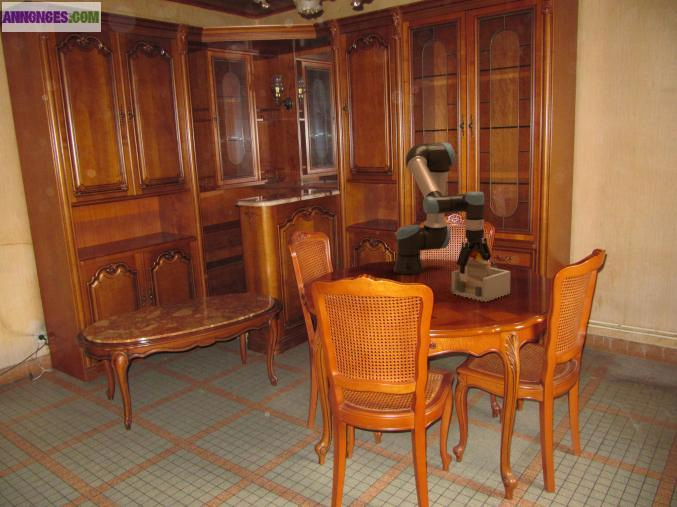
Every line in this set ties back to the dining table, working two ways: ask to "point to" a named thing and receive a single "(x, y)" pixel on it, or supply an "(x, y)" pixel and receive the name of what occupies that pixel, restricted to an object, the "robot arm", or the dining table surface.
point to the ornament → (476, 256)
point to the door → (475, 275)
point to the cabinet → (485, 285)
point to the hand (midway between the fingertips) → (474, 277)
